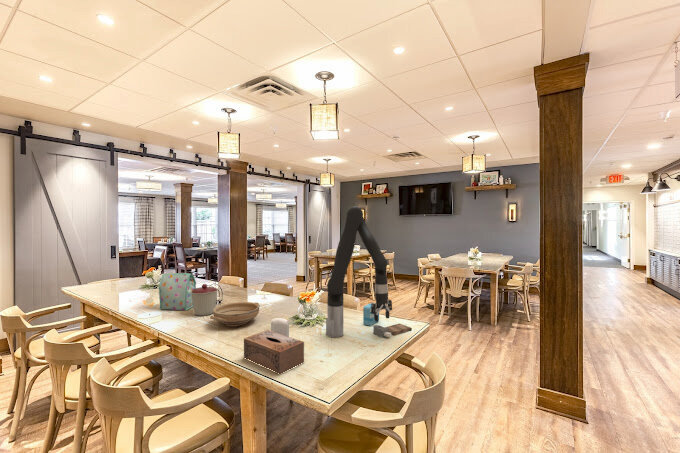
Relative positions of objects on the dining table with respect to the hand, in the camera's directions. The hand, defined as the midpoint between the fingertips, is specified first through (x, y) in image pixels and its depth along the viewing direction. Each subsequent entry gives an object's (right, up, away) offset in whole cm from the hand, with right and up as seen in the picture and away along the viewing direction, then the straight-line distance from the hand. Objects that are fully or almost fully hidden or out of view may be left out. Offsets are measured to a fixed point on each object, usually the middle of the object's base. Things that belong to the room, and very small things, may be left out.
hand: (382, 319), depth 179 cm
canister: (-120, -9, +42) cm, 128 cm away
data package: (-4, -9, +21) cm, 23 cm away
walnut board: (+10, -9, +7) cm, 15 cm away
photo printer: (-57, -9, -8) cm, 58 cm away
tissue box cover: (-55, -10, -32) cm, 65 cm away
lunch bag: (-146, -9, +57) cm, 157 cm away
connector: (0, -9, 0) cm, 9 cm away
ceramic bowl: (-91, -9, +22) cm, 94 cm away
